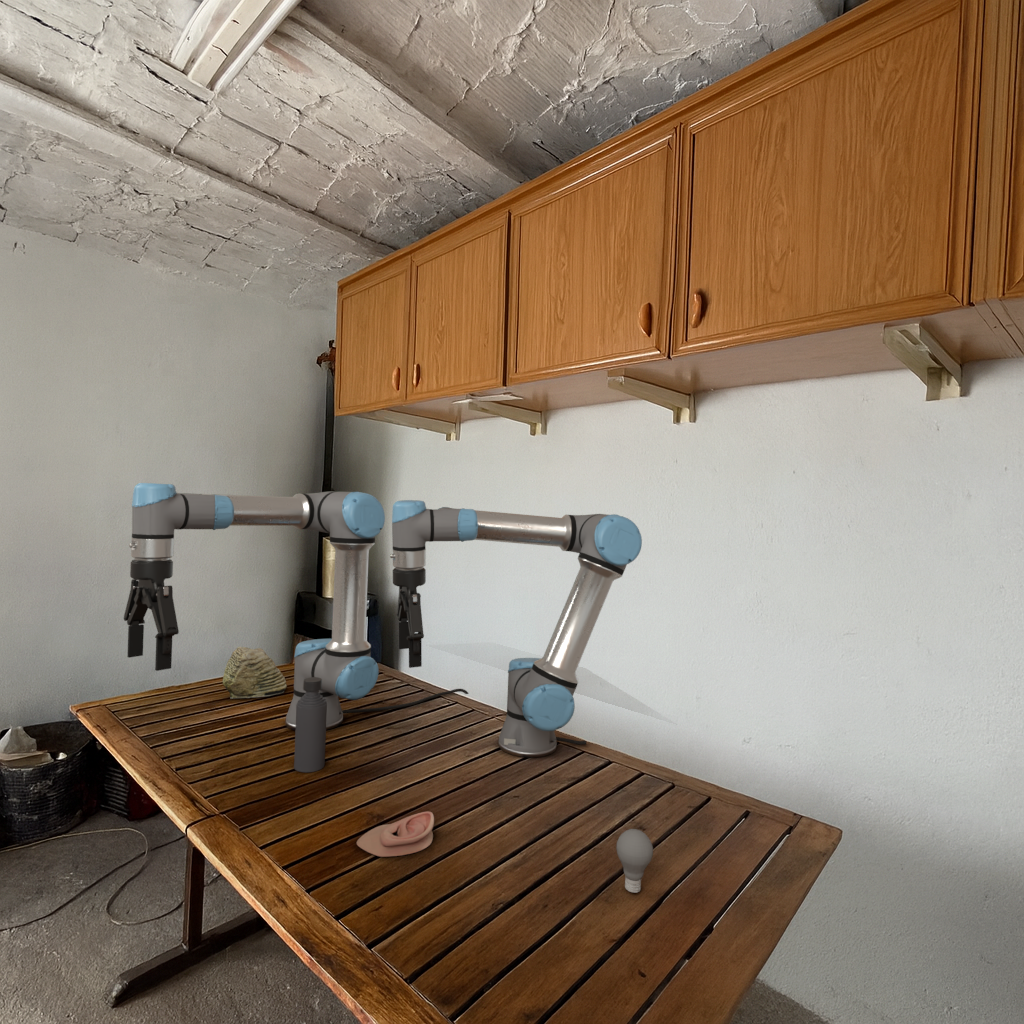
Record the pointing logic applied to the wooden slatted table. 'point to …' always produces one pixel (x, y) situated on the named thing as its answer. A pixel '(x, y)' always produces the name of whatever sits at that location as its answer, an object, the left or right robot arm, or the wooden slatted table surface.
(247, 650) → the fossil
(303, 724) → the bottle
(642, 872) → the light bulb
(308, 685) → the cap
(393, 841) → the anatomical model
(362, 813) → the wooden slatted table surface
